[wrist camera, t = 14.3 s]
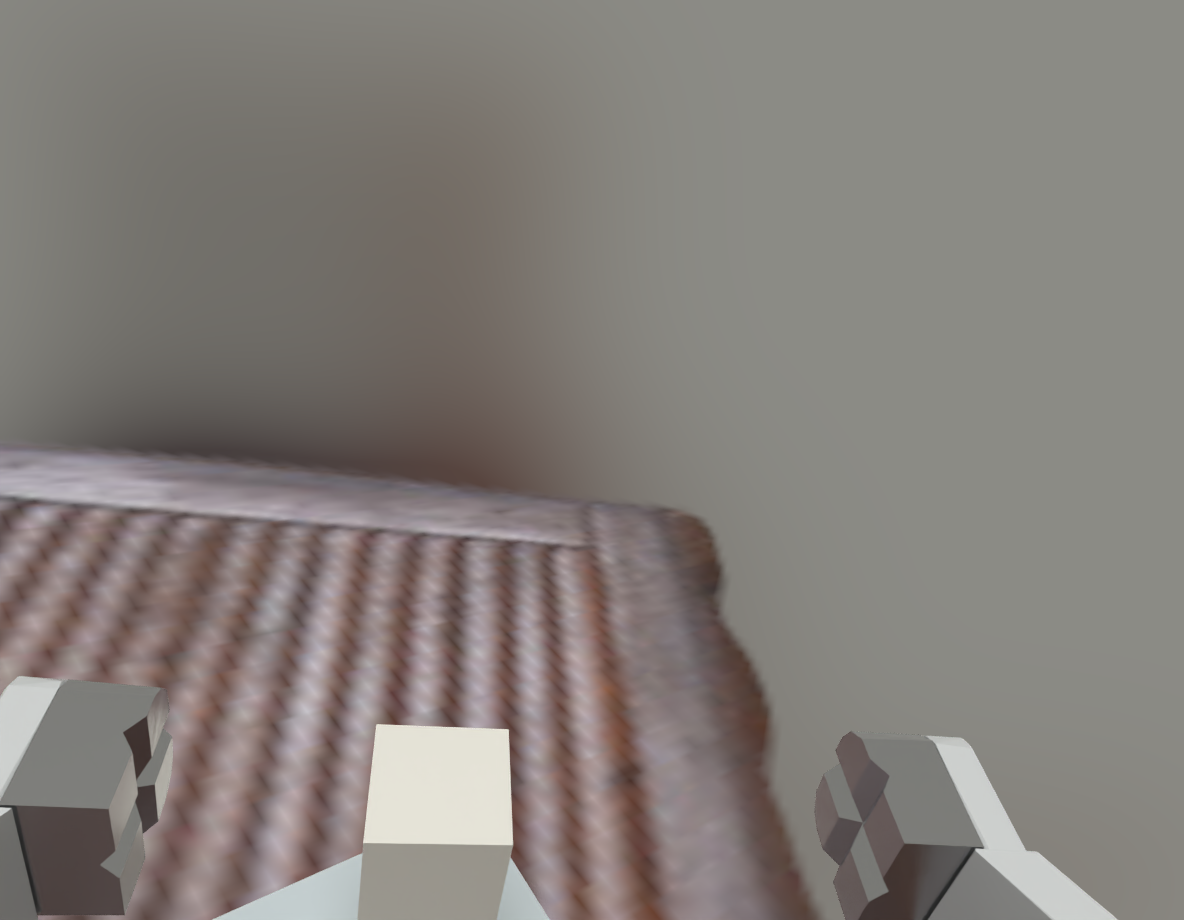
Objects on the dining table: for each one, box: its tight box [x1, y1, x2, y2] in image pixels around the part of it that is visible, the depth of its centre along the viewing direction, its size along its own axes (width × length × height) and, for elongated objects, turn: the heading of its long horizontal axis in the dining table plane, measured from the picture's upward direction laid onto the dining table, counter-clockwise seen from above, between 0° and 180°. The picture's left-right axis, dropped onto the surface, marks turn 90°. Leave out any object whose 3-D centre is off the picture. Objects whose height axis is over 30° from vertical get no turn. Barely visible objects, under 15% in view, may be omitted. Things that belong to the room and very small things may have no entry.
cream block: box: [357, 724, 513, 920], centre depth 33 cm, size 4×4×12 cm
